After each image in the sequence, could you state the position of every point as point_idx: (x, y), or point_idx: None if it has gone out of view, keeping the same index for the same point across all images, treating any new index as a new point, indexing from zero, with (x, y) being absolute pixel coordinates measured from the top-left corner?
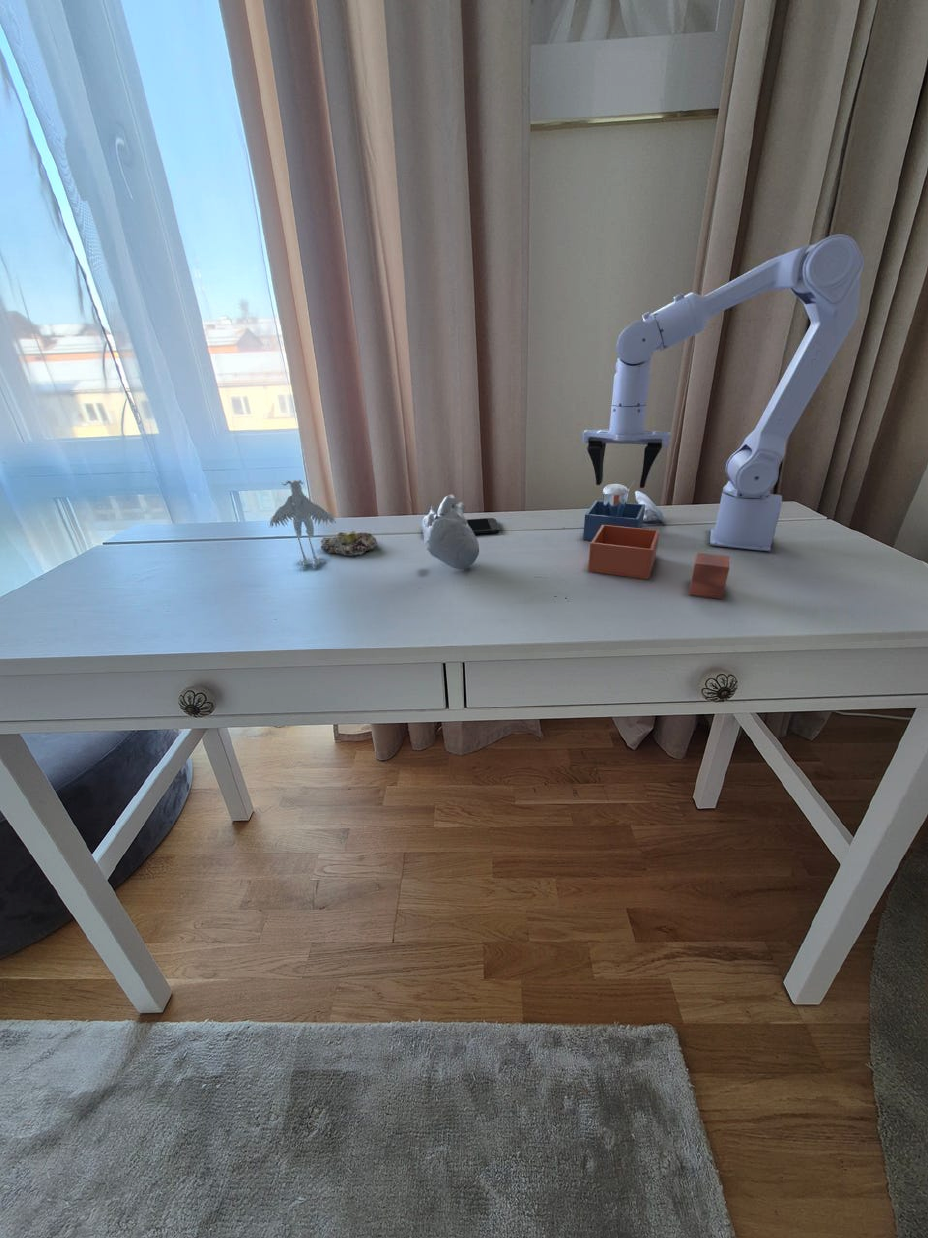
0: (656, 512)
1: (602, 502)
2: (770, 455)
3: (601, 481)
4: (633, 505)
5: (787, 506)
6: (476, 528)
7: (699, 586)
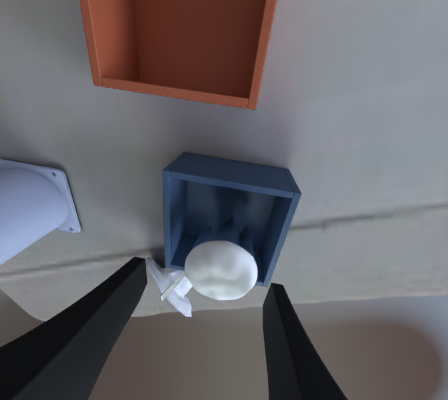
0: (156, 267)
1: None
2: None
3: (265, 303)
4: None
5: (32, 310)
6: None
7: None
